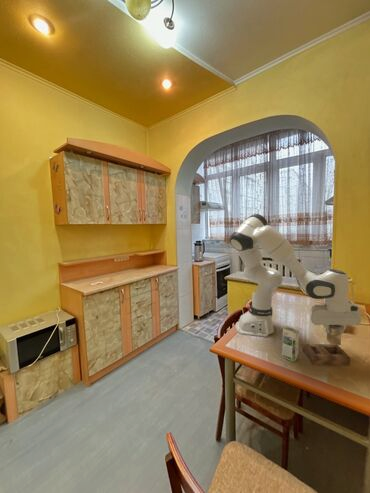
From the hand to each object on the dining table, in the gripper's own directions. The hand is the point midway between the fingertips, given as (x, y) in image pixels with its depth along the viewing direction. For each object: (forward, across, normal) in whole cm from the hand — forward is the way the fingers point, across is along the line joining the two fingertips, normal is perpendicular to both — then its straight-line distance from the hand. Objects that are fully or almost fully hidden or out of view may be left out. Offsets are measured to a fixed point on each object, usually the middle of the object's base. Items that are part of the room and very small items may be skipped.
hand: (334, 332), depth 102 cm
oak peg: (+5, 0, 0) cm, 5 cm away
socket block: (+13, -3, 0) cm, 13 cm away
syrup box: (+13, -19, 0) cm, 23 cm away
